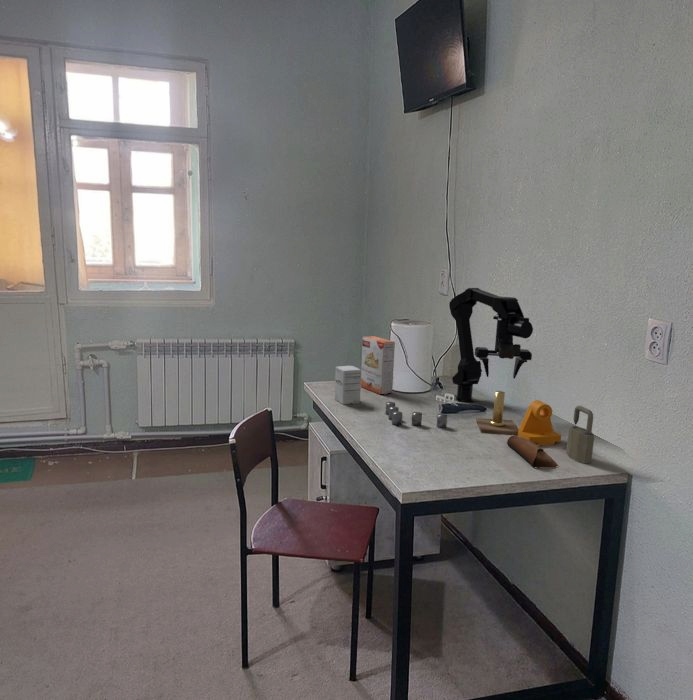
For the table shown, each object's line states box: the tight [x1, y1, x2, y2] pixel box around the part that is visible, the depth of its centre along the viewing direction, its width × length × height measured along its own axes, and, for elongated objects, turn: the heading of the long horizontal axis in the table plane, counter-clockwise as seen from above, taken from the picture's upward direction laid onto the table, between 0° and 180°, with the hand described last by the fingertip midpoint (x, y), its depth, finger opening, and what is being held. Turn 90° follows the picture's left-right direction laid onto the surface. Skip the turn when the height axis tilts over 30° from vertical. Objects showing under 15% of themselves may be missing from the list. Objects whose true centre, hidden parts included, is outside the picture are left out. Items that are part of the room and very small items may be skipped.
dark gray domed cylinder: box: [411, 411, 423, 428], centre depth 192 cm, size 3×3×4 cm
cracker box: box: [360, 335, 396, 395], centre depth 232 cm, size 14×6×21 cm, turn 33°
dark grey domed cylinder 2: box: [388, 405, 400, 421], centre depth 198 cm, size 3×3×4 cm
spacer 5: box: [436, 413, 448, 429], centre depth 191 cm, size 3×3×4 cm
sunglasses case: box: [506, 435, 559, 468], centre depth 168 cm, size 18×7×7 cm, turn 8°
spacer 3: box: [391, 411, 403, 427], centre depth 192 cm, size 3×3×4 cm
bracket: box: [517, 399, 562, 446], centre depth 181 cm, size 11×7×12 cm, turn 103°
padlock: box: [565, 405, 595, 464], centre depth 167 cm, size 4×8×15 cm, turn 14°
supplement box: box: [334, 365, 362, 405], centre depth 216 cm, size 7×7×13 cm
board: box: [475, 417, 519, 436], centre depth 193 cm, size 12×12×1 cm
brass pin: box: [490, 390, 506, 427], centre depth 192 cm, size 5×5×11 cm
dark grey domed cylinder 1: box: [385, 401, 396, 416], centre depth 203 cm, size 3×3×4 cm
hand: (500, 377), depth 207 cm, fingers open, 9 cm apart
